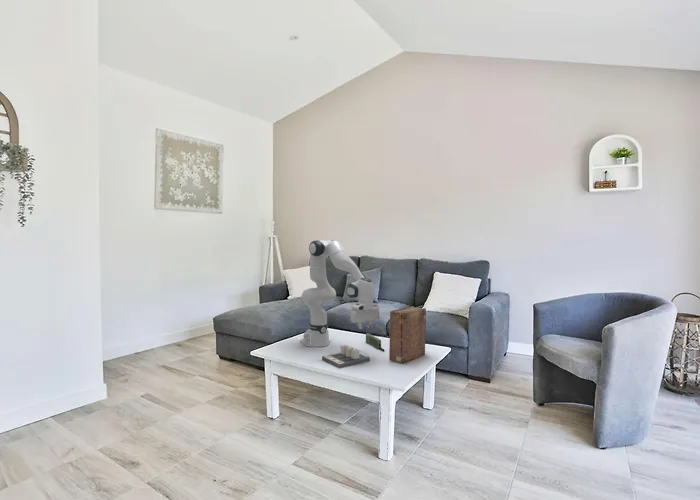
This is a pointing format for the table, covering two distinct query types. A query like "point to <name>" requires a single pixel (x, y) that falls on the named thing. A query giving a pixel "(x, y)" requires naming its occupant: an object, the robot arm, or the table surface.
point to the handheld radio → (373, 341)
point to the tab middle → (349, 351)
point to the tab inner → (343, 349)
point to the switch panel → (344, 360)
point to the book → (407, 334)
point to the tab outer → (355, 354)
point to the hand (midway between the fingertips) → (365, 328)
